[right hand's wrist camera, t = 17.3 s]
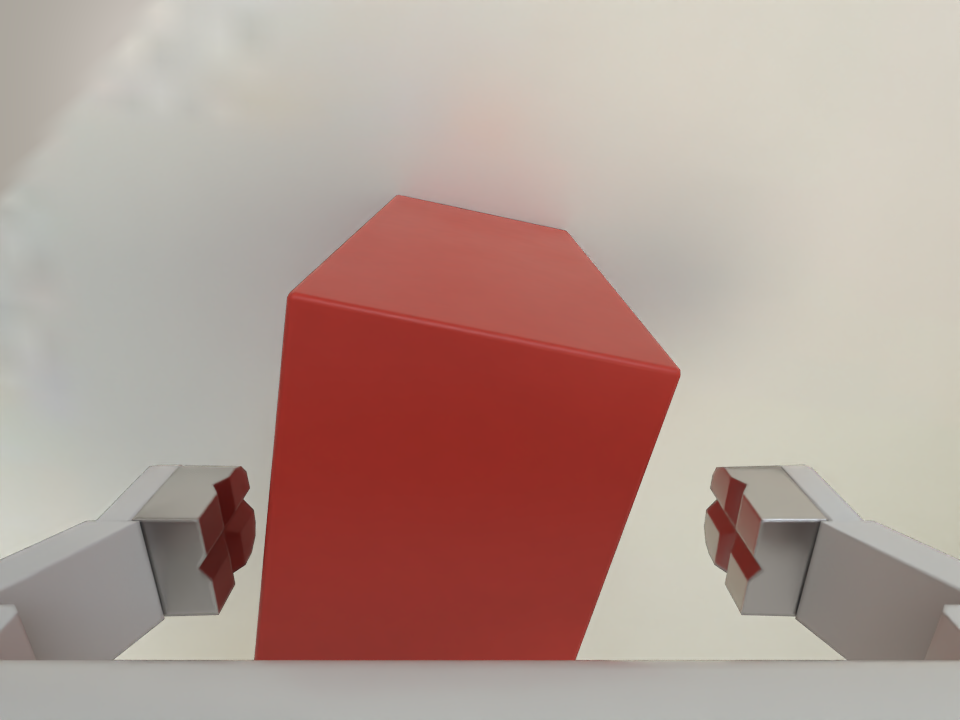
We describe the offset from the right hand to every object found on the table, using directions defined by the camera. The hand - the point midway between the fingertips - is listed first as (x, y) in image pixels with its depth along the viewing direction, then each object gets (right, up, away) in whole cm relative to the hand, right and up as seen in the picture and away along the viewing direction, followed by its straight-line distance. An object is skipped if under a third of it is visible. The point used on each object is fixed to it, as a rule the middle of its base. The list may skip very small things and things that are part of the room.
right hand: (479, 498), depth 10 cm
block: (-1, +4, +8) cm, 9 cm away
